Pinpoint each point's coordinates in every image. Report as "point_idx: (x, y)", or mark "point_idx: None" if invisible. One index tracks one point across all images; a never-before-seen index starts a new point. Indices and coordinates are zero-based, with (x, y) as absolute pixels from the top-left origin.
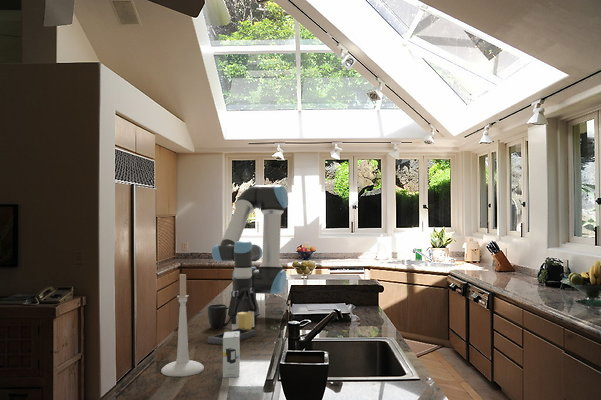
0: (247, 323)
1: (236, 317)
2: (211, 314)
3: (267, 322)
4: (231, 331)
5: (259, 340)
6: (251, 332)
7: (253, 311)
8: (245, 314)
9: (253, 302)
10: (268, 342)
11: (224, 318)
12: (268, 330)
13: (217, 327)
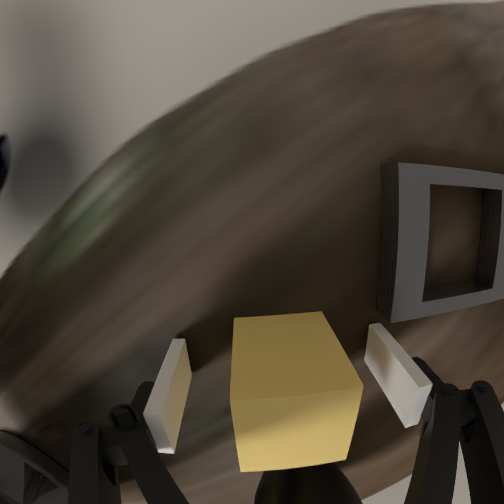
0: (294, 340)
1: (426, 382)
2: None
3: (31, 339)
4: (472, 291)
5: (462, 76)
6: (442, 166)
7: (137, 423)
8: (348, 386)
9: (106, 493)
10: (458, 24)
11: (305, 482)
12: (203, 172)
13: None
